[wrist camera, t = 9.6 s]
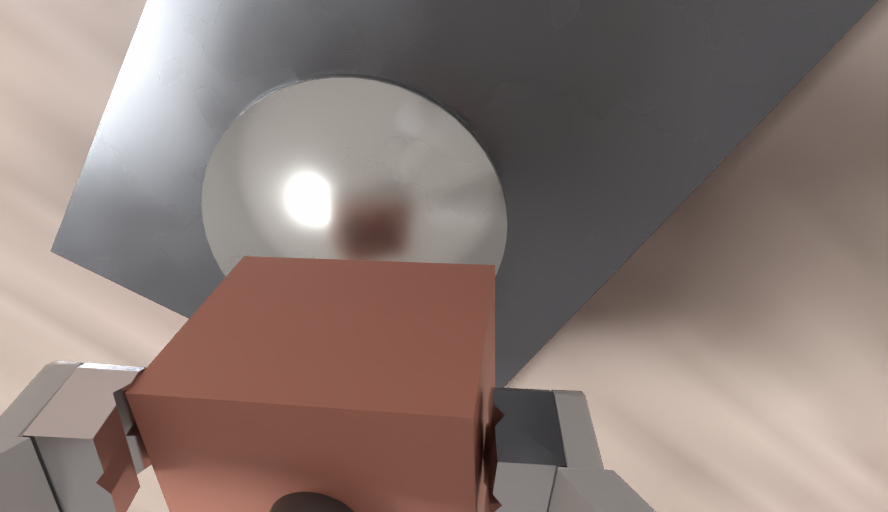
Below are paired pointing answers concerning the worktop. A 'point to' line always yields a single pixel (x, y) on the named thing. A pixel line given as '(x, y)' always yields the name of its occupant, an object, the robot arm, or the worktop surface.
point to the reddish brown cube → (326, 390)
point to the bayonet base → (426, 137)
